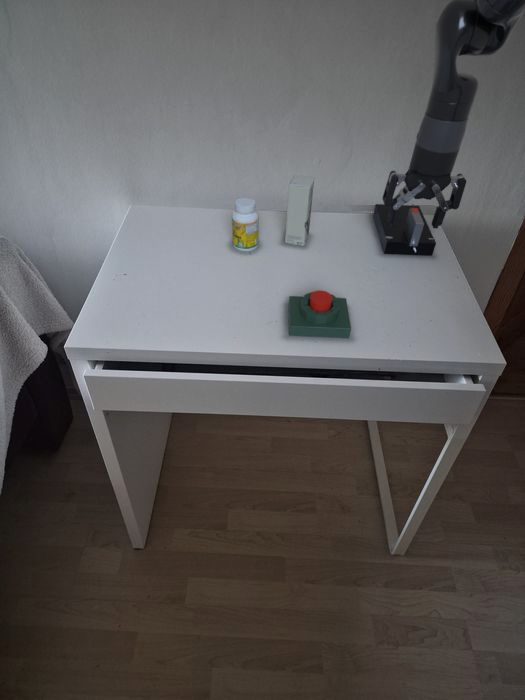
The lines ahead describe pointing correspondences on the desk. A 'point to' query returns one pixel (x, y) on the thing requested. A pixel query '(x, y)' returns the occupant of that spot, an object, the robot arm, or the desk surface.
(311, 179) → the box
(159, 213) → the desk surface
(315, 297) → the button
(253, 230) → the supplement bottle
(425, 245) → the black rectangular base
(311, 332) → the button box
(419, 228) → the grey and red bar
